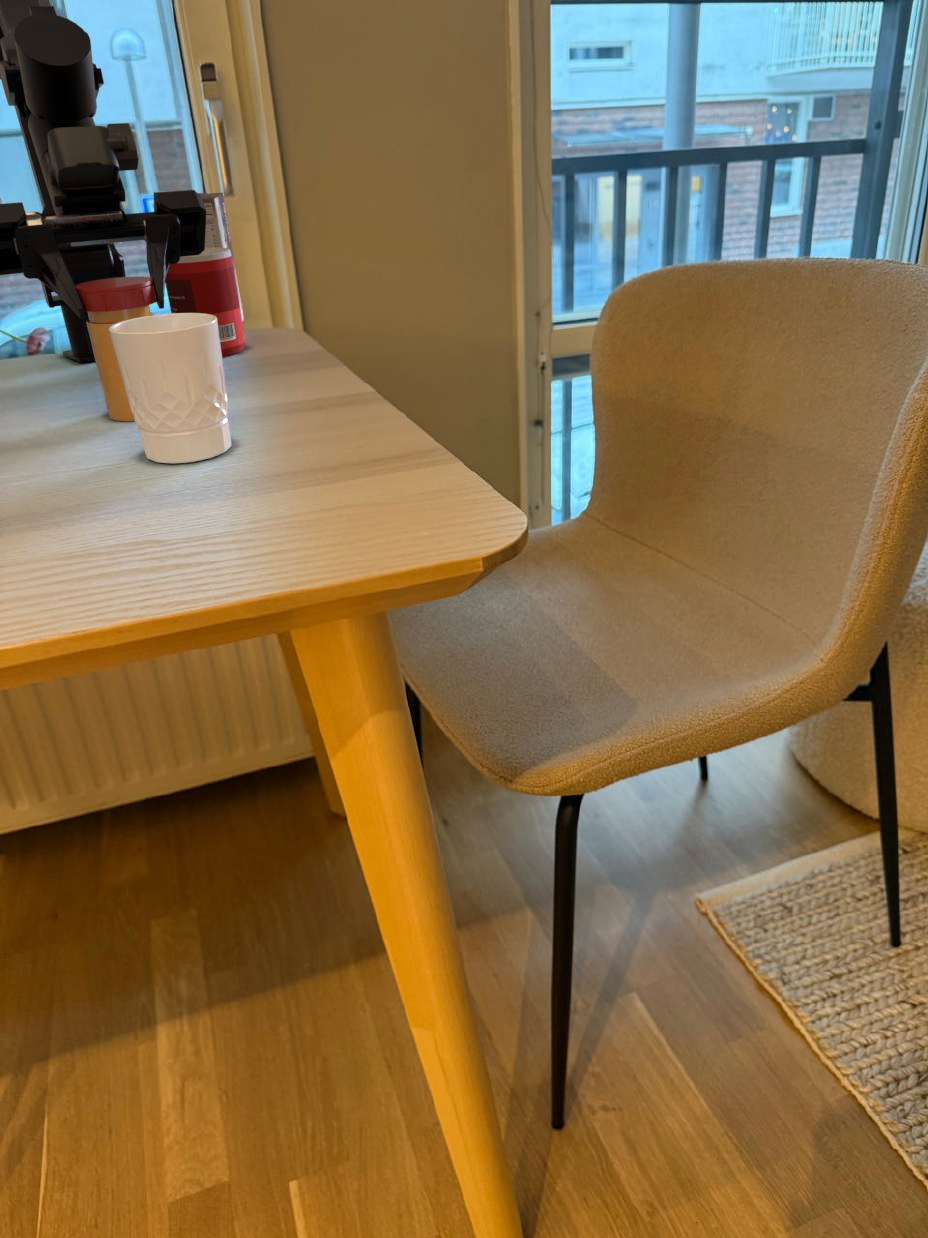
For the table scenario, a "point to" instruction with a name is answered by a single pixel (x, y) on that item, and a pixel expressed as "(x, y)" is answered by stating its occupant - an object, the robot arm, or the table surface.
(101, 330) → the jar
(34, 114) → the robot arm
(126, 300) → the lid
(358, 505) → the table surface
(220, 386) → the white cup
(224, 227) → the coffee box
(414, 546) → the table surface
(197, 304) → the canned food
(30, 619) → the table surface
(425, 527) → the table surface
